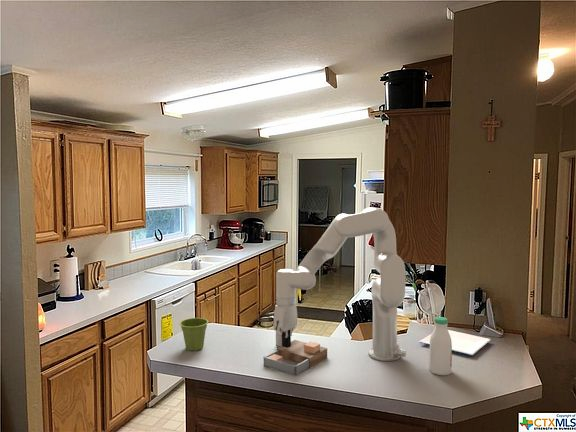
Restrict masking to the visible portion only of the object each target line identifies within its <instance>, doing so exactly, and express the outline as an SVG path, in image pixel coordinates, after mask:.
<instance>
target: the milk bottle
mask: <svg viewBox="0 0 576 432" xmlns="http://www.w3.org/2000/svg"><path fill="white" fill-rule="evenodd" d="M448 323H449V321H448V318H447V317H443V316H435V317H434V329H433V330H432V332H431V337H430V345H429V350H428V352H429V354H428V355H429V358H428V362H429V363H428V369H429V371H430V373H432V374H434V375H437V376H448V375H451V373H452V352H453V351H452V341H451V337H450V334H449V332H448V330H449V329H448Z"/></svg>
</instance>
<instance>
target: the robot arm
mask: <svg viewBox="0 0 576 432" xmlns="http://www.w3.org/2000/svg"><path fill="white" fill-rule="evenodd" d="M369 234H372V236H373V242H374V245H373V246H374V249H373V250H374V251H373V252H374V255H373V258H374V259H373V267H374V269H375V270H376V272H378V273H379V276H380V277H377V278H376V279H375V280H374V281H373V283H372V286H371V300H372V301H371V302H372V348H370V349H369V350H368V355H369V357H371V358H372V359H374V360H377V361H382V362H383V361H384V362H392V361H396V360H399V359H400V358H401V357H403V358H405V357H407V351H406V350H405V349H401V348H400V344H398V307H400V306H401V305H402V304H403V302H404V300H405V295H406V265H405V262H404V260H403V259H402V258H401V257H400V256H399V255H398V253H397V236H396V231H395V227H394V226H393V223H392V221H391V220H390V218H389V216H388V213H387V212H386V211H385V210H383V209H381V208H378V207H372V206H370V207H367V208H364V209H363V210H362V211H361V212H359V213H354V214H347V213H340V214H337V216H335V218H334V219H333V220H332V222H331V223H330V224H329V226H328V227H327V229H326V230H325V232H324V233H323V234H322V235H321V237H320V238H319V239H318V241H317V242H316V244H314V245H313V247H312V248H311V249H310V250H309V251H308V253H307V254H306V255H305V256H304V258H303V259H302V260H301V261H300V263H299V265H298V266H297V268H296V269H295V270H293V269H292V268H281V269H278V270H277V271H276V275H275V276H276V278H275V279H276V283H275V284H276V289H275V290H276V299H275V300H276V302H277V305H276V304H275V308H274V313H273V330H275V331H276V330H277V335H281V337H282V346H283V347H286V348H289V347H291V340H292V335H293V331H294V330H295V329H296V328H297V325H298V310H297V309H298V308H297V300H296V299H297V297H296V295H297V294H296V289H297V290H311V289H312V288H314V287H315V286H316V282H317V277H316V275H315V274H316V273H317V271H318V270H319V269H320V268H321V266H322V265H323V264H324V263H325V262H326V261H328V260H329V259H332V258H333V257H335V256H336V255H337V253H339V251H340V249H341V248H342V246H343V245H344V243H345V242H346V241H347V239H348V238H355V237H361V236H365V235H369ZM284 332H285V333H284Z"/></svg>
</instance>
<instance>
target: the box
mask: <svg viewBox="0 0 576 432" xmlns="http://www.w3.org/2000/svg"><path fill="white" fill-rule="evenodd" d="M273 354H276V355H279V350H277V349H276V350H275V351H273V352H270V353H268V354H266V355H265V356H263V367H265V368H269V369H272V370H276V371H279V372H282V373H285V374H288V375H291V376H294V377H297V376H298V375H300V374H301V373H302V374H303V372H305V371H307V370H308V369H310V368H309V359H307V360H305V361H303V362H301V363H296V362H292V361H289V360H286V359H283V362H281V361H278V360H275V359H271V358H268V357H269V356H271V355H273Z"/></svg>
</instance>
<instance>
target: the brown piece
mask: <svg viewBox="0 0 576 432" xmlns="http://www.w3.org/2000/svg"><path fill="white" fill-rule="evenodd" d="M307 343H308V342H304V341H301V340H297V339H294V340H292V341H291V347H289V348H286V347H283V346H281V347H279V348H278V347H276V351H277V350H279V356H283V359H286V360H289V361H292V362H296V363H301V362H303V361H305V360H307V359H309V369H311V368H314V367H315V366H316V365H318V364H320V363H322V362H323V361H324V360H326V359H328V347H324V346H320V350H319V351H318V352H316V353H314V354H313V353H309V352H306V351H304V345H305V344H307Z"/></svg>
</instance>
